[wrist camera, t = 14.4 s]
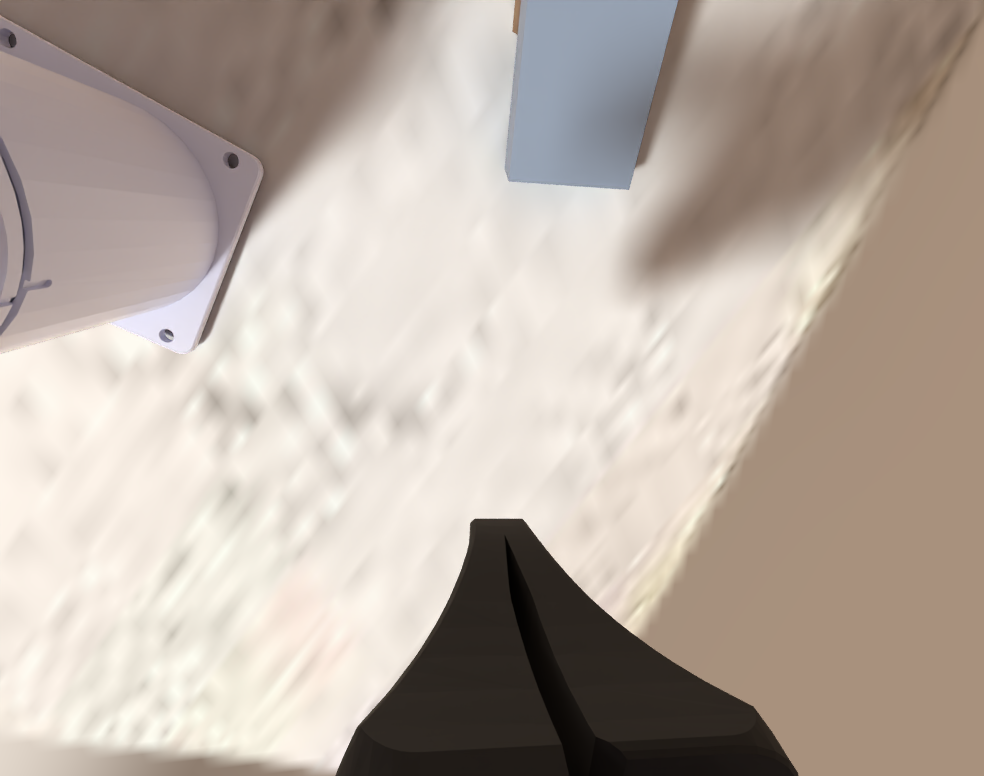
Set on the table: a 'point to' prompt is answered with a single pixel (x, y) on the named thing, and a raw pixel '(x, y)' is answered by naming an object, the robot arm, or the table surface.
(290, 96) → the table surface
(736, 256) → the table surface
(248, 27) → the table surface
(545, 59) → the domino
